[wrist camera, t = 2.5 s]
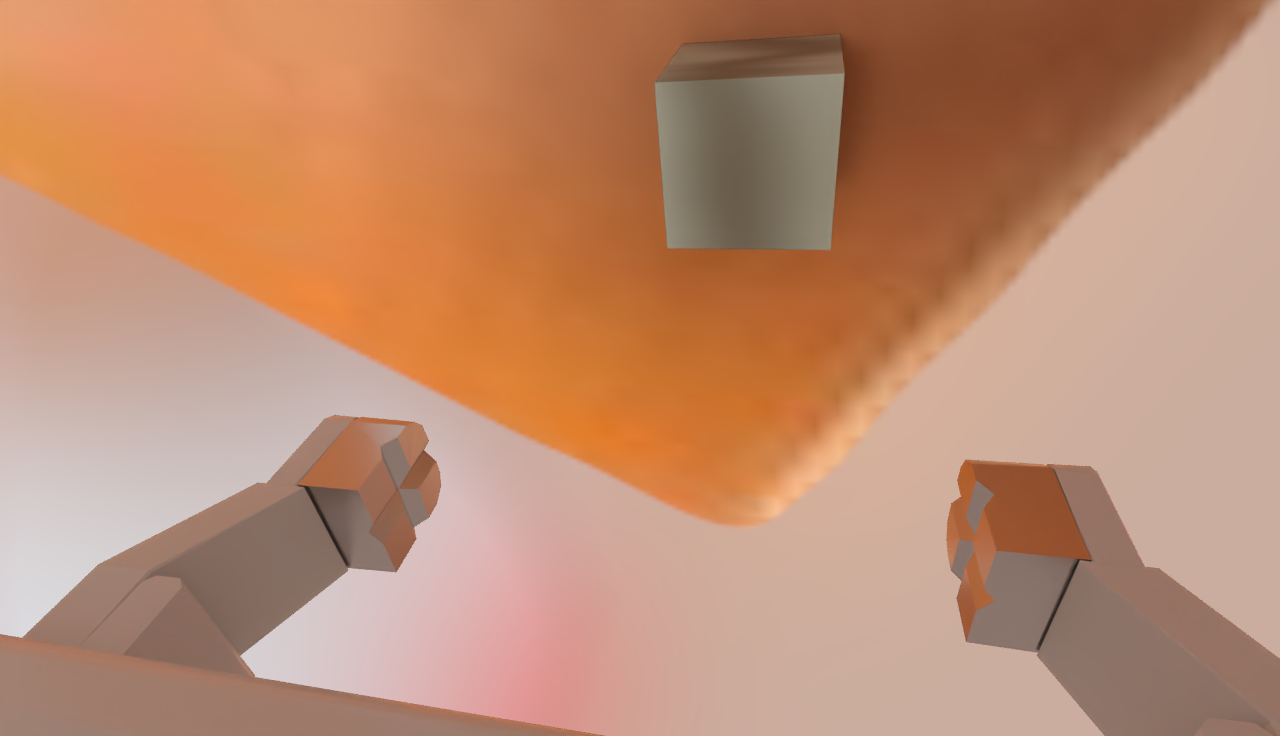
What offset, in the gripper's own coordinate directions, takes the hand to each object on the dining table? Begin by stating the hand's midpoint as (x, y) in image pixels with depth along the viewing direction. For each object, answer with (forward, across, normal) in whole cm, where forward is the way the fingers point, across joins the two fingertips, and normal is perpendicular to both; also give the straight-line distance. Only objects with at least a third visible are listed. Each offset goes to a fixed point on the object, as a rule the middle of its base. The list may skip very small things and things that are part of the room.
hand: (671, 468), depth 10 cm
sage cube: (+17, 0, -1) cm, 17 cm away
